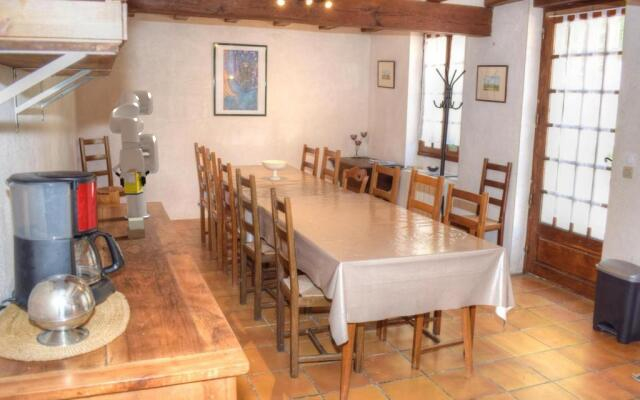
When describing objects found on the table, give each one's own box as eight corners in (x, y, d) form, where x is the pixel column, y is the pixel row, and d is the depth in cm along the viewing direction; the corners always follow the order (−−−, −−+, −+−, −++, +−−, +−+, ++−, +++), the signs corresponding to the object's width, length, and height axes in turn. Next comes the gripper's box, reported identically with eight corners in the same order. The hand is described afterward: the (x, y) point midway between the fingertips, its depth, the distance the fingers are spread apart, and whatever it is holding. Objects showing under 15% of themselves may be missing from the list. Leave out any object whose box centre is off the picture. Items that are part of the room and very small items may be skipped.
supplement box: (143, 193, 256) (141, 168, 254) (137, 195, 250) (136, 170, 249) (130, 193, 257) (128, 168, 255) (124, 195, 251) (122, 170, 249)
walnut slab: (127, 236, 258) (126, 227, 258) (143, 234, 261) (143, 225, 260) (128, 239, 252) (128, 230, 251) (145, 238, 255) (144, 229, 254)
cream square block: (128, 227, 258) (128, 218, 257) (143, 226, 260) (142, 217, 259) (129, 230, 252) (129, 221, 252) (143, 228, 254) (143, 220, 254)
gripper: (150, 145, 257) (152, 184, 260) (108, 146, 250) (111, 186, 253) (152, 146, 250) (155, 186, 253) (110, 147, 243) (112, 189, 246)
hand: (133, 186), depth 253 cm, fingers closed on supplement box, 8 cm apart
